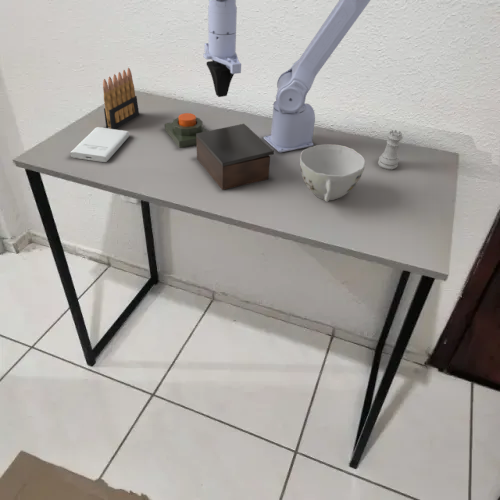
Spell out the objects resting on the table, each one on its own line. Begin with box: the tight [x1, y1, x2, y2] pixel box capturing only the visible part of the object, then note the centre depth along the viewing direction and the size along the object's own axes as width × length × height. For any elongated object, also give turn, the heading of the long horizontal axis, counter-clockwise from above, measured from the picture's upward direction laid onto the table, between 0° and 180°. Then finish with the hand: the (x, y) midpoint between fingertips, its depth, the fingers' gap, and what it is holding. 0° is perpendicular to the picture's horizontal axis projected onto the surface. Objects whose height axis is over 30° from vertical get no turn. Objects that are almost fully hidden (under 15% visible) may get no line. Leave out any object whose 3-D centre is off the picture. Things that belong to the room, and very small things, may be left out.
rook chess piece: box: [377, 129, 403, 171], centre depth 103 cm, size 4×4×8 cm
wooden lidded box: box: [196, 137, 271, 191], centre depth 99 cm, size 11×14×5 cm
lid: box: [196, 123, 275, 166], centre depth 97 cm, size 11×14×1 cm
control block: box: [164, 116, 208, 149], centre depth 111 cm, size 10×8×4 cm
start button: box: [178, 112, 197, 127], centre depth 109 cm, size 4×4×2 cm
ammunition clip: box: [102, 67, 140, 130], centre depth 112 cm, size 11×2×12 cm, turn 154°
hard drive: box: [69, 126, 130, 163], centre depth 105 cm, size 2×8×12 cm
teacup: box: [299, 143, 366, 203], centre depth 92 cm, size 15×12×8 cm
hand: (221, 95), depth 105 cm, fingers closed
